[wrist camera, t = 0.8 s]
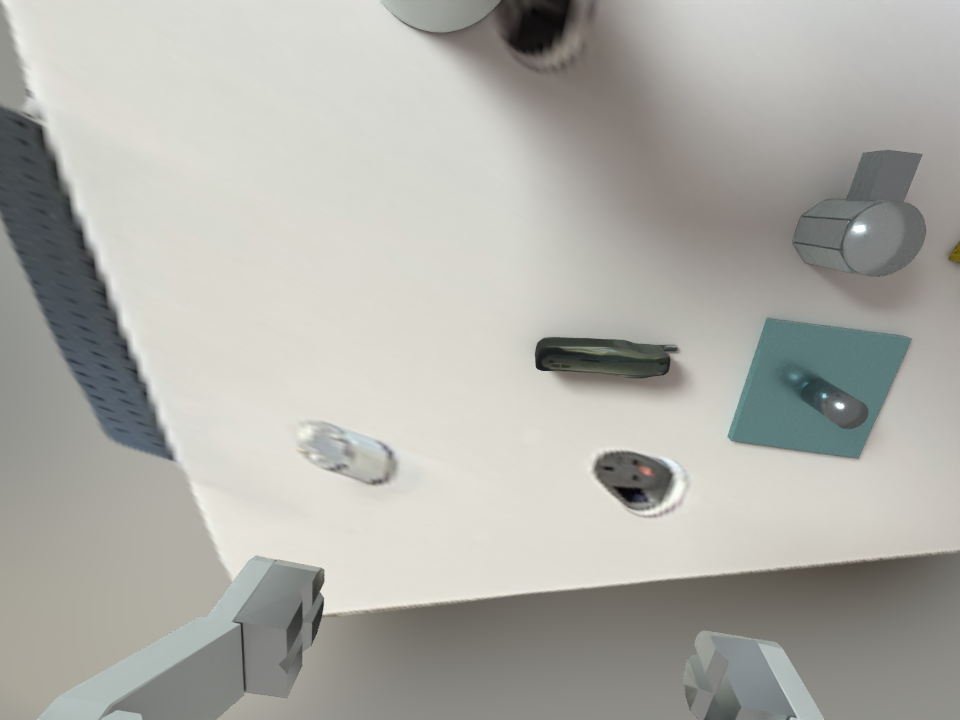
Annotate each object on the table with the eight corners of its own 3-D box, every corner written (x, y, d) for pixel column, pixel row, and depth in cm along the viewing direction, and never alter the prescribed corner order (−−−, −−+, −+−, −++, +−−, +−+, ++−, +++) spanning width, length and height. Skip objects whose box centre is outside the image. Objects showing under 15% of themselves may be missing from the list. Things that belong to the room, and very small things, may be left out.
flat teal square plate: (766, 318, 49) (802, 335, 43) (904, 335, 48) (960, 356, 42) (727, 436, 54) (754, 467, 47) (852, 453, 53) (895, 487, 47)
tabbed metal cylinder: (821, 153, 44) (881, 145, 36) (887, 161, 43) (960, 154, 36) (786, 260, 47) (834, 271, 40) (847, 267, 47) (907, 280, 40)
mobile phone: (535, 376, 48) (687, 381, 47) (536, 348, 47) (691, 353, 46) (534, 360, 53) (672, 364, 51) (535, 334, 52) (676, 338, 50)
